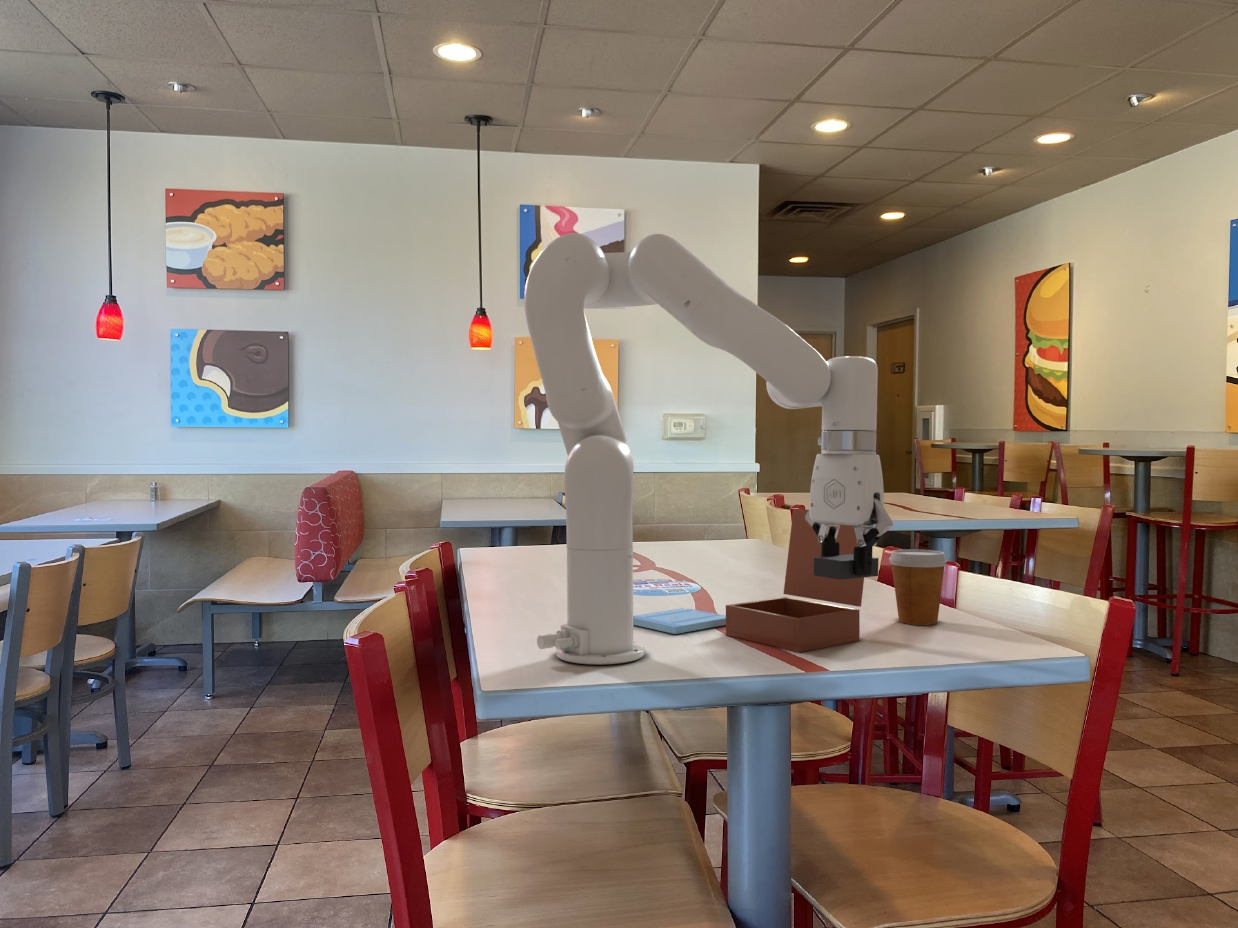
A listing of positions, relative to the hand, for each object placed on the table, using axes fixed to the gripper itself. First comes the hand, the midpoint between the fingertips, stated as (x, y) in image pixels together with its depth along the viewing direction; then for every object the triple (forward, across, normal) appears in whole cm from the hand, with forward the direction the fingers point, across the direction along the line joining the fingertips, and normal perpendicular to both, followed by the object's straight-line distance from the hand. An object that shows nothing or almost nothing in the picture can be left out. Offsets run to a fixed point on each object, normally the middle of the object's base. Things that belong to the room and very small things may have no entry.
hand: (845, 571), depth 122 cm
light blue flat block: (+13, -32, -3) cm, 35 cm away
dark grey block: (+1, 0, 0) cm, 1 cm away
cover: (0, -14, +11) cm, 18 cm away
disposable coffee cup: (+12, -10, +31) cm, 34 cm away
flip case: (+12, -14, +4) cm, 19 cm away
